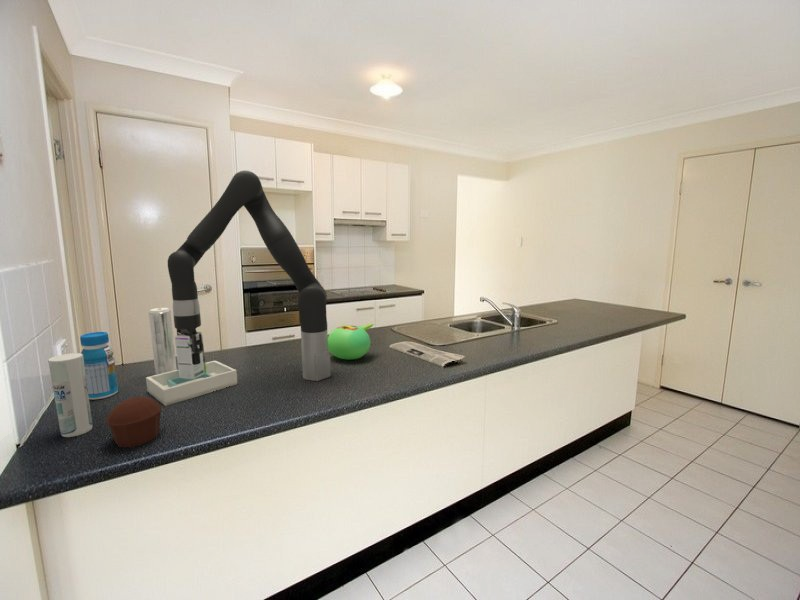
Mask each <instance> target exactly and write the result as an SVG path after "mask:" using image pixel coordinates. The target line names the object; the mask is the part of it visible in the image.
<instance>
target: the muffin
mask: <svg viewBox="0 0 800 600" xmlns="http://www.w3.org/2000/svg"><path fill="white" fill-rule="evenodd" d="M162 409H163V407H162V405H161V404H160V403H158V402H157V401H156V400H155V399H154V398H152V397H146V396H135V397H131V398H128V399H124V400H123V401H121V402H120V403H118V404H116V405H115V406H114V407H113V408H112V409H111V411H110V412H109V413H108V415H107V417H106V418H105V419H104V421H105V424H107V425H108V426H109V429H110V432H111V435H112V437H113V440H114V443H115V445H117V446H118V447H119V448H132V447H136V446H141V445H145V444H146V443H148V442H150V441H152V440H154V439H156V438H155V437H157V436H158V434H159V433H160V426H161V425H160V424H161V412H162ZM156 435H157V436H156Z"/></svg>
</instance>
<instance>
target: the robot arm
mask: <svg viewBox="0 0 800 600" xmlns="http://www.w3.org/2000/svg"><path fill="white" fill-rule="evenodd" d="M242 207H244V209H246V211H247V212H248V214H249V215H250V216H251V218H252V219H253V221H254V224H255V225H256V228H257V231H258V233H259V234H260V237H261V239H262V242H263V243H264V245H265V247H266V248H267V250H268V251H269V253H270V255H271V256H272V258H273V259H274V261H275V262H276V263H277V265H279V267H281V268H280V269H282V270H283V271H284V272H285V273H286V274H287V275H288V276H289V278H290V279H291V280H292V282H293V284H294V286H295V288H296V289H297V292H298V294H299V295H298V301H297V302H298V316H299V318H298V319H299V325H300V326H299V327H300V341H301V360H302V361H301V363H302V367H301V368H302V378H303V379H304V380H306V381H316V382H319V381H321V380H324V379H327V378H329V377H331V352H330V351H329V349H328V336H329V334H328V319H327V300H328V294H327V292H326V289H325V288H324V287H323V286H322V284H321V283H320V282H319V281H318V279H317V278H316V276H315V274H313V272H312V270H311V268H310V267H309V265H308V263H307V261H306V259H305V257H304V255H303V253H302V251H301V249H300V247H299V245H298V243H297V242H296V240H295V238H294V236H293V235H292V234H291V233H292V232H291V231H290V230H289V228H288V227H287V226H286V225H285V223H284V222H283V220H281V218H280V217H279V216H278V214H276V212H275V210H274V209H273V208H272V205H271V204H270V202H269V199H268V198H267V196H266V194H265V191H264V189H263V185H262V182H261V179H260V178H259V176H257V174H256V173H254V172H252V171H250V170H240V171H238V172H236V173H235V174H234V175H233V176H232V178H231V180H230V182H229V183H228V185H227V187H226V189H225V190H224V191H223V193H222V194H221V197H220V198H219V199H218V200H217V202H216V203H215V204H214V205H213V207H212V208H211V209H210V210H209V211H208V213H207V214H206V215H205V216H204V217H203V219H201V221H200V222H199V223H198V224H197V225H196V226H195V227H194V228H193V229H192V231H191V232H190V233H189V235H188V236H187V238H186V240H185V241H184V242H183V243H182V244H181V246H179V248H178V249H177V250H176V251H174V252H172V253H171V254H170V255H169V256H168V258H167V270H168V275H169V279H170V284H171V294H172V295H171V296H172V314H173V315H172V316H173V325H174V328H175V329H176V336H177V335H180V334H181V335H182V334H184V336H185V335H188V336H190V338H191V340H192V343H193V344H191V345H190V344H189V343H188V342H187V345H188V347H190V348H191V353H192V354H191V355H192V364H193V365H196V364H200V353H199V352H202V351H203V347H202V336H203V334H202V335H201V333H199V334H197V332H198V331H197V328H199V327H201V326H202V319H201V309H200V307H201V306H200V302H199V297H198V286H197V283H196V281H195V272H194V271H195V267H196V265H197V264H198V263H199V262H200V260H201V259H202V257H203V256H204V255H205V254H206V252H207V251H208V250H210V249H211V248H212V247H213V245H214V244H215V243H216V242H217V241H218V240H219V238H220V237H221V235H223V233H224V232H225V230H226V229H227V227H228V226H229V224H230V222H231V221H232V219H233V218H234V216H235V215H236V214H237V213H238V212H239V210H240V209H242ZM196 348H197V349H196Z"/></svg>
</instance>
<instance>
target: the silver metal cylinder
mask: <svg viewBox="0 0 800 600" xmlns="http://www.w3.org/2000/svg"><path fill="white" fill-rule="evenodd" d="M148 319H149V327H150V337H151V346H152V352H153V353H152V354H153V360H154V373H155V375H158V374H162V373H166V372H170V371H174V370H178V367H177V361H176V360H177V358H176V348H175V338H174V330H173V321H172V313H171V310H170V308H169V307H157V308H155V307H154V308H152V309H149V312H148Z"/></svg>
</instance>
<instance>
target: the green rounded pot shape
mask: <svg viewBox="0 0 800 600" xmlns="http://www.w3.org/2000/svg"><path fill="white" fill-rule="evenodd" d="M373 326H374V323H369V324H364V325H361V326H360V325H359V326H357V325H348V324H345V323H344V324H341V326H338V327H336V328H334V329H333V330H332V331H331V332H330V333H329V334H328V351H330V354H331V355H333V356H335V357H336V358H338V359H341V360H347V361H349V360H358V359H361V358H362V357H363V356H365V355H366V354H367V353H368V352H369V350H370V348H371V338H370V336H369V334H368V332H367V330H369V329H371V328H372V327H373Z"/></svg>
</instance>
